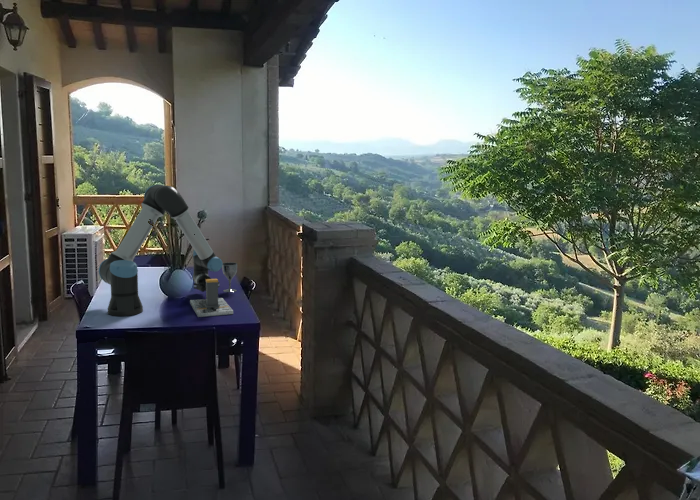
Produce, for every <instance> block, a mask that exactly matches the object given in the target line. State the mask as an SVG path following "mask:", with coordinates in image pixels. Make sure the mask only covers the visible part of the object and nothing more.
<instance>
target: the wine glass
mask: <svg viewBox="0 0 700 500" xmlns="http://www.w3.org/2000/svg"><path fill="white" fill-rule="evenodd" d="M222 263H223V265H222V268H221V269H222V273H223V276H225V278H226V279H227V281H228V285H229V286H228V289H227V288H226V289H223V290H222V291H223V292H225V293H235V292H237V289H235V288H231V286H232V285H231V284H232V280H233V278H234V277H235V276H236V274H237V272H238V262H232V261H230V262H222Z"/></svg>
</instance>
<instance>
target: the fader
mask: <svg viewBox="0 0 700 500" xmlns="http://www.w3.org/2000/svg"><path fill="white" fill-rule="evenodd" d="M218 282H219V279H218V278H211V279H206V291H205V294H206V295H205V299H206V304H205V306H206V308H211V307H220V305H219V304H218V298H219V287H218Z"/></svg>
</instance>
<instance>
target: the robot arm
mask: <svg viewBox="0 0 700 500" xmlns="http://www.w3.org/2000/svg"><path fill="white" fill-rule="evenodd" d="M143 198H144V199H143V200H142V202H141V203H140V204H141V207H142V208H141V210H140V212H139V213H138V215H137V216H136V218H135V220H134V221H133V223H132V224H131V226H130V228H129V229H128V231H127V232H126V235H125V236H124V238H123V239H122V240H121V243H120V244H119V246H118V248H117V249H116V250H115V251H112V252H110V253H109V256H107V258H106V259H104V260H103V261H102V262H101V263H100V264H99V267H98V275H99V277H100V279H101V280H102V281H103V282H104V283H106V284H108V285H110V300H109V302H108V306H107V315H109V314H110V316H113V317H128V316H135V315H138V314H141V313H143V311H144V309H143V308H144V307H143V303H142V301H141V299H140V296H139V273H138V272H139V270H138V269H139V268H138V264H137V263H136V262H134V259H135V258H136V255H137V254H138V253H139V251H140V249H141V247H142V245H143V243H144V242H145V240H146V239H147V237H148V236H149V234H150V232H151V231H152V229H153V227H154V226H152V225H150V224H149V223H148V221H150V220H149V219H151V220H153V222H154V225H155V224H156V222H157V220H158V219H159V218H160V217H161V218H162V217H164V215H165V214H166V213H167V214H168V215H169V217H170V218H171V219H174V221H175V220H176V221H175V222H176V224H177V226H178V227H179V228H180V230H181V231H182V233H183V235H184V236H185V238H186V240H187V241H188V242H189V244H190V245H191V247H192V249H193V254H192V255H193V256H192V259H193V272H192V273H193V274H192V280H193V282H194V283H193V289H196V290H198V291H200V292H202V293H204V292H205V293H206V279H212V277H210V275H209V272H213V273H214V272H215V273H216V272H219V271H220V270H221V269H222V265H223V263H224V262H223V260H222V259H221V258H219V256H217V255H216V253H215V252H214V250H213V249H212V247H211V246H210V244H209V242H208V241H207V239H206V238H205V236H204V234H203V232H202V231H201V229H200V227H199V226H198V225H197V222H196V221H195V220H194V218H193V217H192V215H191V212H190V211H189V210H190V209H189V206H188V204H187V203H186V201H185V199H184V197H183V196H182V194H181V193H180V192H179V191H178V190H177V188H175V187H173V186H172V185H163V184H153V185H151V186H148V188H146V190H145V191H144V194H143ZM194 234H195V235H194ZM218 288H220V281H218Z"/></svg>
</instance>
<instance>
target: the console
mask: <svg viewBox="0 0 700 500" xmlns="http://www.w3.org/2000/svg"><path fill="white" fill-rule="evenodd" d="M189 304H190V306H191V308H192V310H193V311H194V312H195V314H196V316H197V318H202V317H203V318H204V317H214V316H215V317H216V316H225V315H226V316H229V315H234V309H232V307H231V306H230V305H229V304H228V302H227V301H226V300H225V299H224V298H223V297H218V304H219V305H220V307H211V308H206V306H205V304H206V298H205V299H204V298H202V299H190V300H189Z"/></svg>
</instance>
